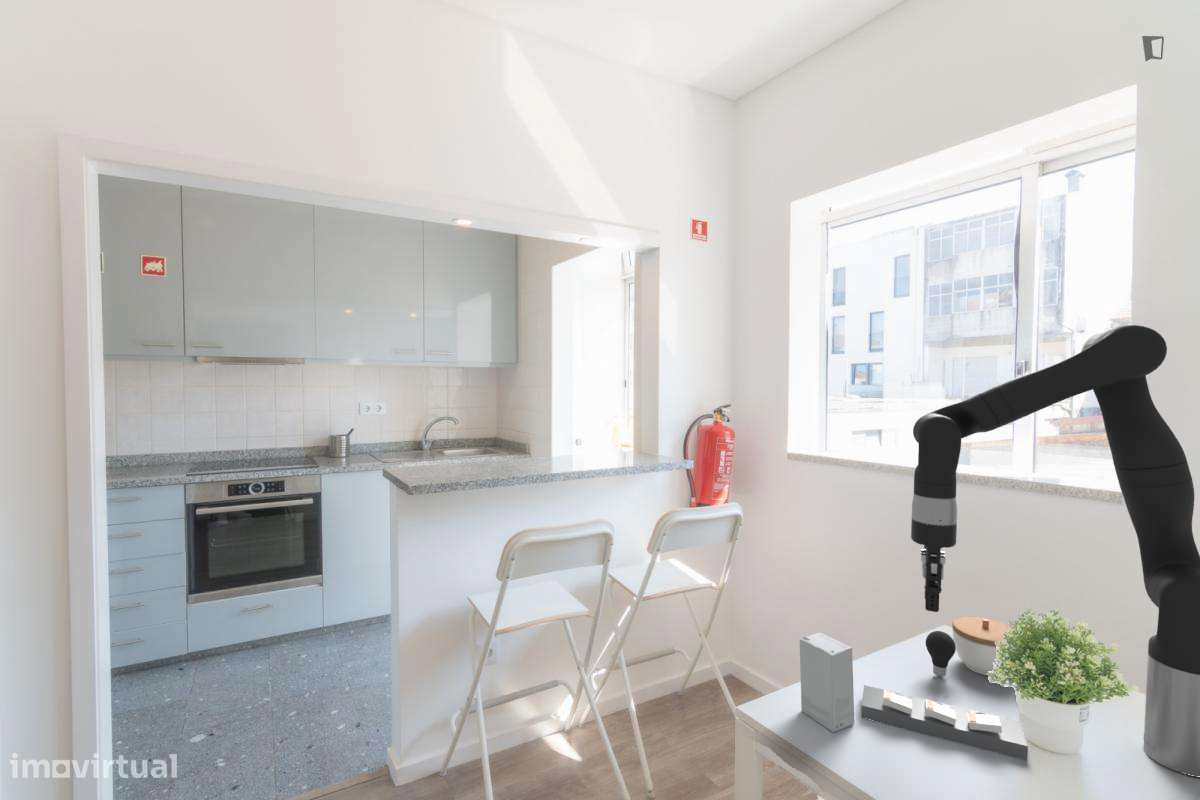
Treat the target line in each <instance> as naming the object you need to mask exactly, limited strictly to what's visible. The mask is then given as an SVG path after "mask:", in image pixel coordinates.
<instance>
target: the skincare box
mask: <svg viewBox="0 0 1200 800" xmlns="http://www.w3.org/2000/svg"><path fill="white" fill-rule="evenodd" d="M853 661H854V660H853V647H852V646H850V645H847V644H845V643H843V642H842V641H838V640H837V639H834V638H832V637H830V636H828V635H827V634H824V633H822V632H816V633H814V634H810V635H807V636H804V637H802V638H800V639H799V663H800V664H799V665H800V668H799V670H800V699H801V701H800V703H801V706H800V707H801V712H803V713H804V714H806V715H807V716H808V717H810V718H812V719H813V720H814V721H816V722H817V723H819V724H821V725H822V726H824V727H825V729H828V730H829V731H831V732H833V733H834V732H835V733H836V732H837V731H840V730H842V729H846V728H849V727H851V725H852V726H854V725H855V703H854V702H855V701H854V700H855V699H854V695H855V694H854V693H855V692H854V667H853V665H854V664H853Z"/></svg>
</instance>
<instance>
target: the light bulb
mask: <svg viewBox="0 0 1200 800" xmlns="http://www.w3.org/2000/svg"><path fill="white" fill-rule="evenodd" d="M925 646H926V650H927V652H928V654H929V656H930V658H931V663H932V672H933V674H934V675H935V676H936V677H937V678H940V679H942V678H944V677H946V676H947V667H948V665H949V663H950V660H951V659H952V658H953V657H954V655H955V653H956V646H955V643H954V640H953V637H952V636H951V635H950V634H948V633H946V632H945V631H941V630H934V631H931V632H930V633H929V634H928V635H927V636H926V639H925Z"/></svg>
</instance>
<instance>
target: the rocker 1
mask: <svg viewBox="0 0 1200 800" xmlns="http://www.w3.org/2000/svg"><path fill="white" fill-rule="evenodd" d="M883 690H884V694H883V704H884V705H887V706H889V707H892V708H895V709H897V710H900V711H903V712H905V713H908V714H911V712H912V700H911V699H908V698H905V697H903V696H900V695H897V694H895V693H892V692H893V691H892V692H889V691H890V690H887V689H883ZM886 690H887V691H886Z"/></svg>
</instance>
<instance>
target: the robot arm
mask: <svg viewBox="0 0 1200 800" xmlns="http://www.w3.org/2000/svg"><path fill="white" fill-rule="evenodd" d="M1167 353H1168V348H1167V341H1165V338H1164V337H1163V336H1162V335H1161V334H1160V333H1159V332H1158V331H1157V330H1155V329H1153V328H1150V327H1147V326H1143V325H1138V324H1137V325H1135V324H1131V325H1130V324H1126V325H1120V326H1118V325H1117V326H1115V327H1114V326H1113V327H1109V328H1104V329H1101V330H1098V331H1096V332H1094V333H1093V334H1091V335H1089V337H1087V338H1086V339H1085V341H1084V342H1083V344H1082V346H1081V349H1080V352H1078V353H1076V354H1074V355H1073V356H1071V357H1068V358H1066V359H1064V360H1061V361H1059V362H1057V363H1055V364H1053V365H1050V366H1047V367H1044V368H1042V369H1039V370H1036V371H1033V372H1030V373H1027V374H1024V375H1021V376H1017V377H1015V378H1012V379H1010V380H1007V381H1004V382H1002V383H1000V384H998V385H995V386H992V387H990V388H988V389H986V390H983V391H981V392H979V393H977V394H974V395H973V396H972V395H971V396H970V397H969V398H966V399H965V400H962V401H959V402H956V403H954V404H950V405H947V406H945V407H942V408H938V409H936V410H933V411H931V412H928V413H925V415H922V416H921V417H919V418H918V419H917V420H916V422H915V424H914V425H913V429H912V434H913V438H914V439H915V441H916V442H917V443H918V456H917V457H918V459H917V461H918V463H917V465H916V467H915V470H914V475H913V476H914V478H913V495H912V496H913V497H912V502H911V522H910V523H911V525H910V527H911V528H910V529H911V530H910V537H911V538H910V539H911V540H912V541H913V542H914V543H916V544H918V545H920V546H922V545H923V548H924V549H922V548H921V549H920V562H921V570H922V577H923V579H924V586H923V587H924V588H923V589H924V599H925V601H924V603H925V607H924V609H925V610H926V611H927V612H933V613H938V612H939V611H940V594H941V592H942V581H943V580H944V571H945V570H944V567H945V564H946V555H945V551H941V549H942V548H946V549H947V548H953V547H955V546H956V545H957V527H958V526H957V525H958V505H957V470H958V465H959V461H960V455H961V449H962V439H964V438H967V437H968V436H972V435H974V434H978V433H987V432H990V431H991V432H992V431H994V430H996V429H999V428H1002V427H1004V426H1006V425H1009V424H1011V423H1013V422H1016V421H1018V420H1021V419H1023V418H1025V417H1028V416H1030V415H1032V414H1034V413H1037V412H1038V411H1041V410H1043V409H1046V408H1048V407H1050V406H1054V405H1055V404H1057V403H1060V402H1062V401H1064V400H1067V399H1069V398H1072V397H1074V396H1078V395H1080V394H1083V393H1087V392H1089V391H1093V393H1094V395H1095V398H1096V401H1097V403H1098V406H1099V409H1100V411H1101V416H1102V420H1103V424H1104V425H1103V426H1104V428H1105V429H1104V430H1105V433H1106V438H1107V442H1108V445H1109V449H1110V452H1111V457H1112V462H1113V466H1114V470H1115V473H1116V477H1117V481H1118V485H1119V488H1120V491H1121V494H1122V497H1123V499H1124V503H1125V506H1126V509H1127V512H1128V515H1129V518H1130V521H1131V523H1132V525H1133V528H1134V530H1135V533H1136V537H1137V540H1138V541H1137V542H1138V546H1139V554H1140V560H1141V561H1140V562H1141V566H1142V567H1141V568H1142V569H1141V570H1142V575H1143V583H1144V589H1145V592H1146V594H1147V596H1148V598H1149V599H1150V601H1151V602H1152V603H1153V604H1154V605H1155V606H1156V607H1157V608H1158V616H1157V629H1156V634H1154V635H1152V636H1151V637H1150V638H1149V639H1148V643H1147V644H1148V646H1147V665H1146V666H1147V667H1146V689H1145V690H1146V691H1145V708H1144V710H1145V711H1144V730H1143V731H1144V732H1143V751H1144V752H1145V754H1146V755H1147V756H1148V757H1150V758H1151V759H1152V760H1154V761H1155V762H1156V763H1158V764H1160V765H1161V766H1163V767H1166V768H1168V769H1169V768H1170V770H1172V769H1173V770H1172V771H1174V770H1175V771H1174V772H1177V771H1179V772H1183V773H1186V774H1190V775H1194V776H1200V553H1199V550H1198V548H1197V545H1196V542H1195V537H1194V532H1193V516H1194V509H1195V488H1194V482H1193V477H1192V474H1191V471H1190V467H1189V463H1188V460H1187V457H1186V454H1185V451H1184V449H1183V447H1182V445H1181V443H1180V441H1179V440H1178V438H1177V437H1176V435H1175V434H1174V432H1173V430H1172V429H1171V428H1170V426H1169V425H1168V424H1167V422H1166V421H1165V419H1164V418H1163V416H1162V414H1160V412H1159V411H1158V409H1157V408H1156V405H1155V403H1154V401H1153V398H1152V396H1151V392H1150V389H1149V385H1148V380H1147V375H1149V374H1151V373H1153V372H1154V371H1156V370H1157V369H1158V368H1159V367H1160V366H1162V364H1163V362H1164V360H1165V359H1166V356H1167ZM1179 772H1178V773H1179ZM1186 774H1185V775H1186Z"/></svg>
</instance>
